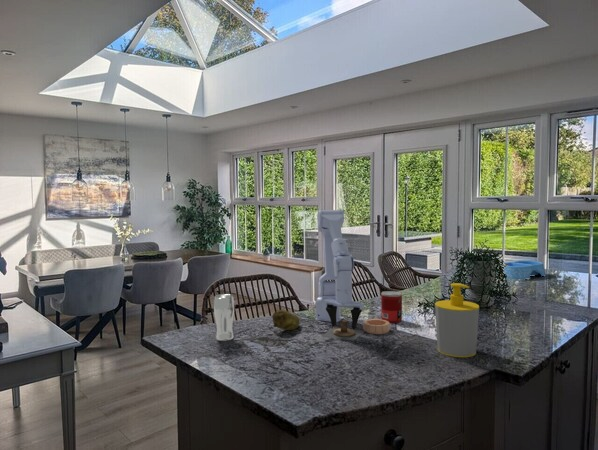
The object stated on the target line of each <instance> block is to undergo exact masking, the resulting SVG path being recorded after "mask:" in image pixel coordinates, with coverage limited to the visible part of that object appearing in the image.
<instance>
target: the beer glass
mask: <svg viewBox="0 0 598 450" xmlns="http://www.w3.org/2000/svg"><path fill="white" fill-rule="evenodd" d="M213 299H214V300H213V313H214V314H213V315H214V320H215V323H216V336H215V340H216V341H220V342H227V341H232V340H234V333H233V323H234V322H233V321H234V316H235V301H234V294H230V293H220V294H216V295H215V296H214V298H213Z"/></svg>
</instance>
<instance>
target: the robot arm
mask: <svg viewBox="0 0 598 450" xmlns="http://www.w3.org/2000/svg"><path fill="white" fill-rule="evenodd" d="M316 219H317V230H318V232H321V233H322V234H321V235H322V238H323V239H322V240H323V257H324V259H323V260H324V273H323V274H322V275H321V276H319V278H318V283H317V285H318V286H317V290H318V292H317V293H318V297H317V299H316V302H315V320H316V321H324V322H330V323H331V326H332V327H333V328H335V327H337V323H339V322H341V321H342V320H343V319H344V318H345V317H344V316H341V308H347V309H348V308H350V314H351V329H354V330H356V329H357V324H358V320H359V318H360V315H361V313H362V311H363V310H364V309H365V302H359V301H354V300H353V290H352V289H353V287H352V286H353V285H352V283H353V274H352V273H353V272H354V267H355V260H354V256H353V255H352V253H351V252H350V250H349V247H348V244H347V241H346V240H345V239H343V233H342V227H343V224H344V222H345V213H344V210H343V209H327V210H326V209H325V210H324V209H323V210H322V209H319V210H318V212H317V217H316Z"/></svg>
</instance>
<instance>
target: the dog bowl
mask: <svg viewBox="0 0 598 450" xmlns="http://www.w3.org/2000/svg"><path fill="white" fill-rule="evenodd" d="M503 263H504V264H508V266H506V267H505V268H504V273H505V274H506V275H507V279H506V280H508V279H525V278H530V279H531V277H530V275H538V274H539V273H540V274H539V275H541V277H542V276H544V275H546V276H547V273H546V270H545V265H544V262H541V261H536V260H514V261H507V262H503ZM539 275H538V276H539Z"/></svg>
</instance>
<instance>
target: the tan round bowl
mask: <svg viewBox="0 0 598 450" xmlns="http://www.w3.org/2000/svg"><path fill="white" fill-rule="evenodd" d="M390 324H391V323H389V322H388V321H386V320H382V318H369V319H365V320H364V321H363V328H362V329H363V331H366V332H365V333H369V334H375V335H381V334H382V335H383V334H387V333H389V332H390V331H391V330H390V329H391V328H390V327H391V325H390Z"/></svg>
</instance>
